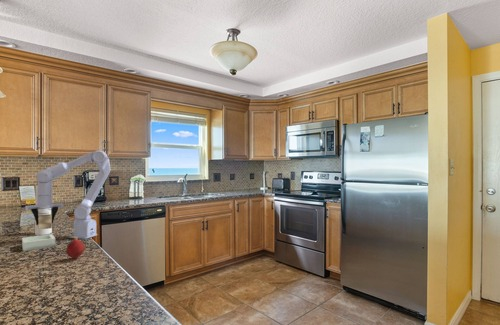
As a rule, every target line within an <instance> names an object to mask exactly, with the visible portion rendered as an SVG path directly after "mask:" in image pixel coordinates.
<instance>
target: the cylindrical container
mask: <svg viewBox="0 0 500 325" xmlns="http://www.w3.org/2000/svg"><path fill="white" fill-rule="evenodd" d="M52 188H53V185H52ZM37 204H38V185H36V186H35V204H34V205H37ZM40 208H44V207H40ZM48 214H51V208H46V209H38V215H48ZM34 220H35V219H34ZM52 232H53V227H52V228H48V229H40V230H38V225H36V220H35V221H34V236H41V235H49V234H53V233H52Z"/></svg>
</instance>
